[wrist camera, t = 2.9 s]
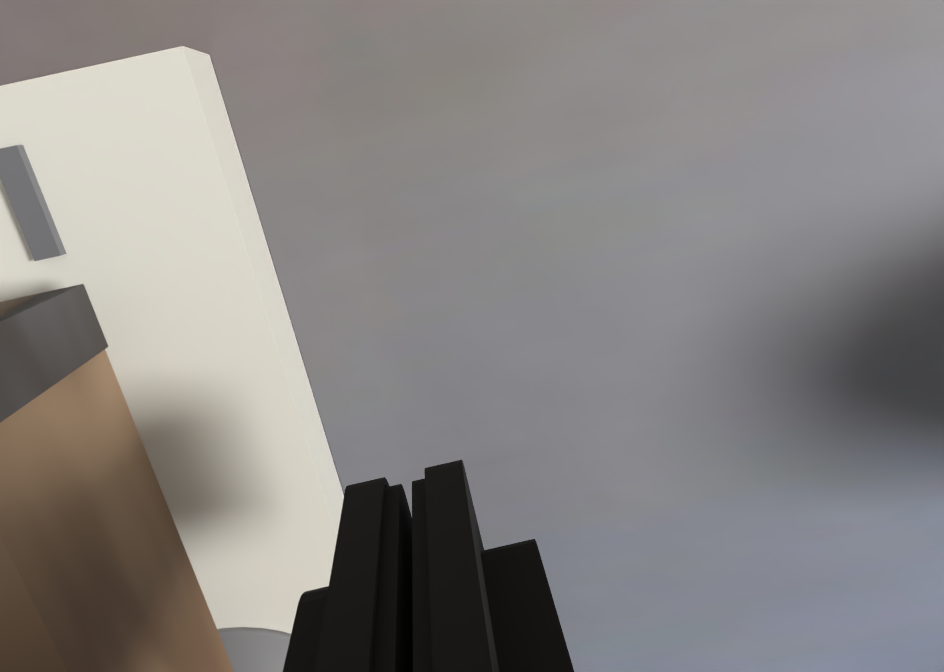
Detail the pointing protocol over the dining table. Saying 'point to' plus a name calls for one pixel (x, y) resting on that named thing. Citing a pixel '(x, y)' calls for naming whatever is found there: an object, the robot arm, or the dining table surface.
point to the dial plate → (180, 321)
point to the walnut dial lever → (85, 511)
